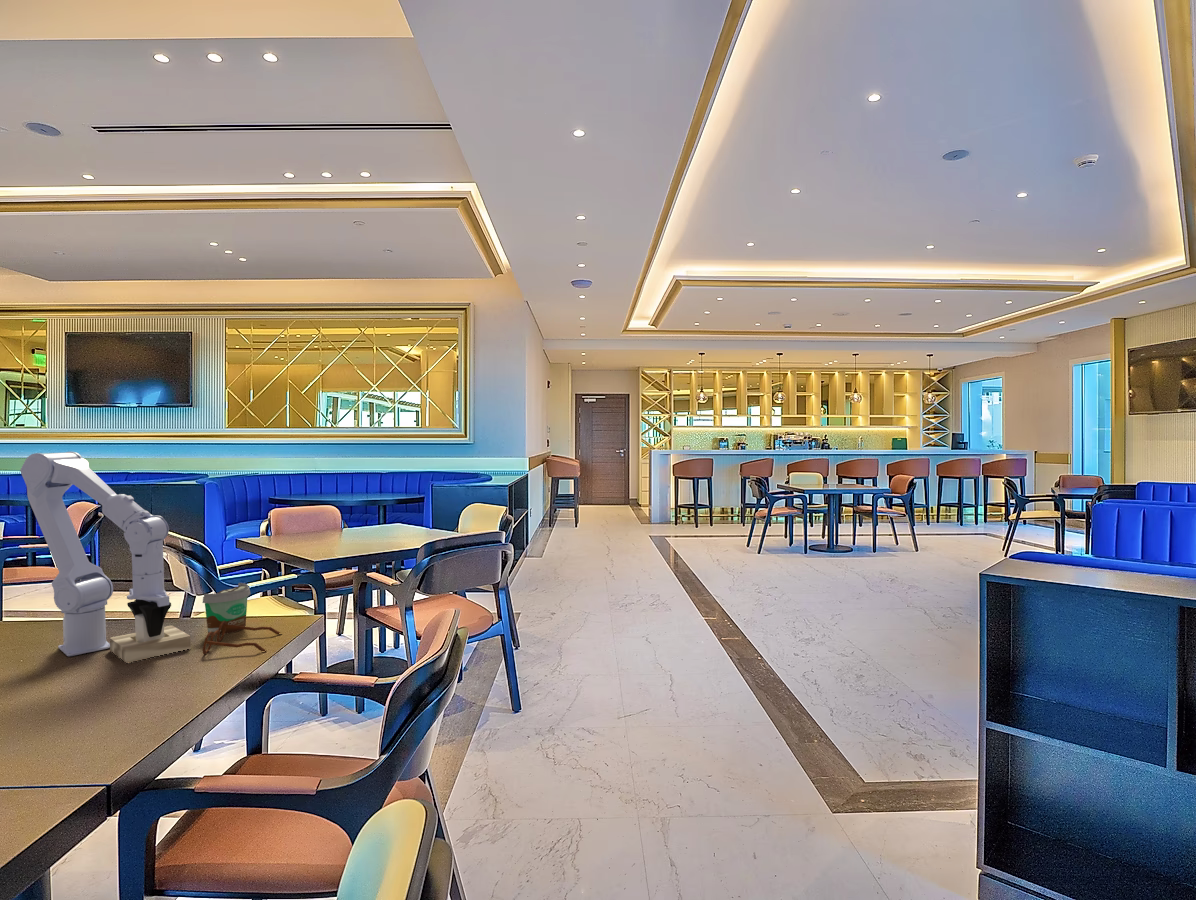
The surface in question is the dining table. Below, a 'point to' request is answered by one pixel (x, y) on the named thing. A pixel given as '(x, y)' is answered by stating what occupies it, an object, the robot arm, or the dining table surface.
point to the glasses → (230, 643)
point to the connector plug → (144, 630)
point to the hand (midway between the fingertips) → (150, 634)
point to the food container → (227, 608)
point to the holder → (149, 645)
